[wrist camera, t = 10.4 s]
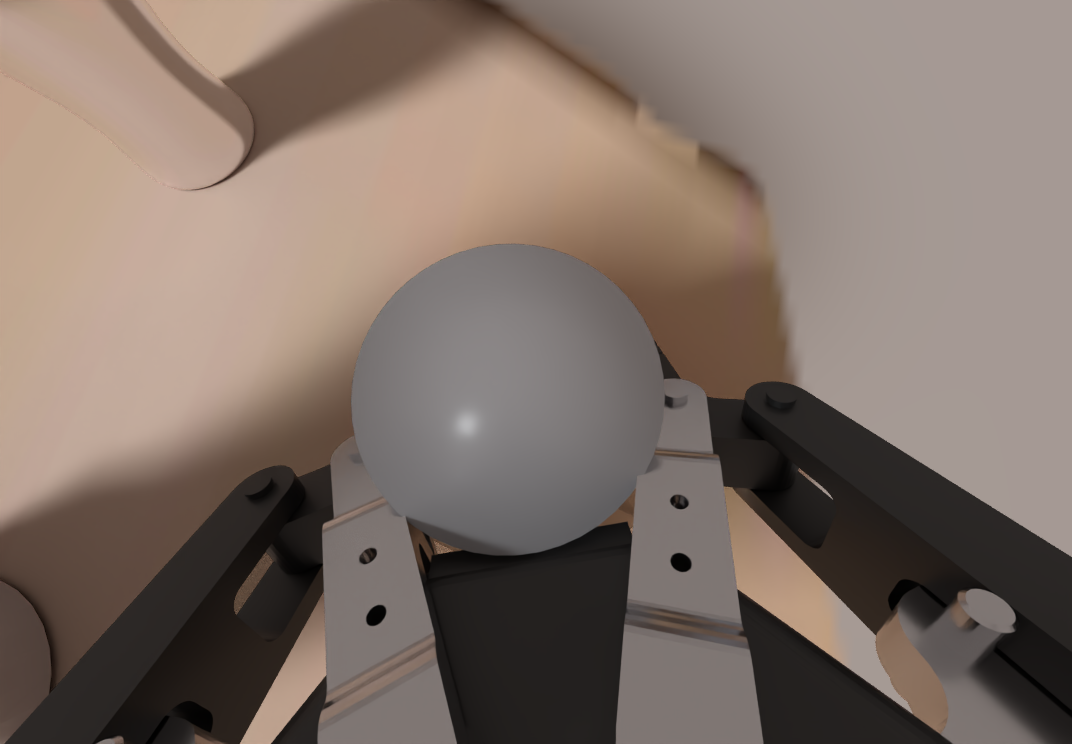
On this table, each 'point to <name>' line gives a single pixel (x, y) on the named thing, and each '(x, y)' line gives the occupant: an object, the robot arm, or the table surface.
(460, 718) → the robot arm
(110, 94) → the beer glass
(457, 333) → the plug
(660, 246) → the table surface
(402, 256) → the table surface
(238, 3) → the table surface
